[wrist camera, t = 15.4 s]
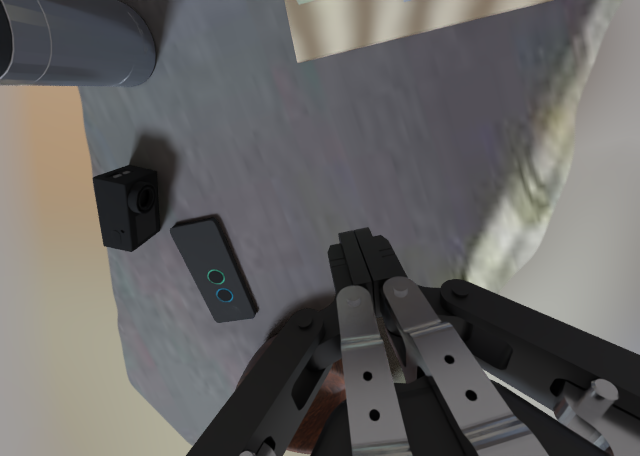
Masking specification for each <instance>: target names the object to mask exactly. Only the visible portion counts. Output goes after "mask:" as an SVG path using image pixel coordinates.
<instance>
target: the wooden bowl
mask: <svg viewBox="0 0 640 456" xmlns="http://www.w3.org/2000/svg"><path fill="white" fill-rule="evenodd" d="M277 335H278V334H277ZM277 335H275V336H274V337H272V338H271V339H269V340H268V341H267V342H266V343H265V344H263V345H262V346H261V347H260V348H259V350H258V351H257V352H256V353H255V355H254V356H253V357H252V359H251V360H250V362H249V364H248V365H247V367H246V369H245V371H244V373H243V375H242V376H241V378H240V380H239V382H238V385H237V387H236V389H237V388H238V386H239V385H240V384H241V382H242V381H243V380H244V378H245V377H246V376H247V374H248V373H249V372H250V370H251V369H252V368H253V367H254V365H255V364H256V363H257V361H258V360H259V359H260V357H261V356H262V355H263V353H264V352H265V351H266V349H267V348H268V347H269V345H270V344H271V343H272V341H273V340H274V339H275V338H276V336H277ZM345 399H346V390H345V381H344V372H343V362H342V358H341V359H340V360H338V361H336V362H334V363H333V365H332V368H331V370H330V372H329V373H328V375H327V377H326V379H325V381H324V382H323V384H322V386H321V388H320V390H319V391H318V393H317V395H316V397H315V399H314V400H313V402H312V404H311V406H310V408H309V409H308V411H307V413H306V415H305V417H304V418H303V420H302V422H301V424H300V426H299V427H298V429H297V431H296V433H295V435H294V436H293V438H292V440H291V442H290V444H289V445H288V447H287V449H286V450H289V451H293V452H297V453H304V454H311V453H312V451H313V448H314V446H315V444H316V442H317V440H318V437H319V435H320V433H321V431H322V429H323V427H324V424H325V422H326V421H327V419H328V417H329V416H330V414H331V413H332V412H333V410H334V409H335V408H336V407H337V406H338V405H339V404H340V403H341V402H343V401H344V400H345Z"/></svg>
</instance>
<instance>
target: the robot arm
mask: <svg viewBox="0 0 640 456" xmlns="http://www.w3.org/2000/svg"><path fill="white" fill-rule="evenodd" d="M155 57H156V53H155V45H154V42H153V38H152V35H151V33H150V31H149V29H148V27H147V25H146V24H145V22H144V21H143V19H142V18H141V17H140V16H139V15H138V14H137V13H136V11H134V10H133V9H132V8H131V7H129V6H128V5H126V4H124V3H122V2H120V1H118V0H0V85H42V86H137V85H140V84H142V83H143V82H145V81H146V80H147V79H148V78H149V77H150V75H151V73H152V71H153V69H154V65H155ZM338 235H339V241H340V244H335V245H330V248H329V250H328V258H329V263H330V268H331V273H332V278H333V282H334V287H335V292H336V297H335V299H334V301H333V302H332V304H331V305H329V306H328V307H327V308H325V309H323V310H321V311H319V312H318V311H316V310H314V309H302V310H299V311H297V312H296V313H295V314H293V315H292V316H291V318H290V319H289V320H288V322H287V323H286V324H285V326H284V327H283V328H282V330H281V331H280V332H279V334H278V335H277V336H276V338H275V339H274V340H273V341H272V343H271V344H270V345H269V347H268V348H267V349H266V351H265V352H264V353H263V355H262V356H261V357H260V359H259V360H258V361H257V363H256V364H255V365H254V367H253V368H252V369H251V370H250V372H249V373H248V374H247V376H246V377H245V378H244V380H243V381H242V382H241V384H240V385H239V386H238V388H237V389H236V390H235V392H234V393H233V394H232V396H231V397H230V398H229V400H228V401H227V402H226V403H225V405H224V406H223V407H222V409H221V410H220V411H219V413H218V414H217V415H216V417H215V418H214V419H213V421H212V422H211V423H210V425H209V426H208V427H207V429H206V430H205V431H204V432H203V434H202V435H201V436H200V438H199V439H198V440H197V442H196V443H195V444H194V446H193V447H192V448H191V450H190V451H189V452H188V454H187V455H186V456H283V454H284V453H285V451H286V449H287V447H288V445H289V444H290V442H291V440H292V438H293V436H294V435H295V433H296V431H297V429H298V427H299V426H300V424H301V422H302V420H303V418H304V417H305V415H306V413H307V411H308V409H309V408H310V406H311V404H312V402H313V400H314V399H315V397H316V395H317V393H318V391H319V390H320V388H321V386H322V384H323V382H324V381H325V379H326V377H327V375H328V373H329V372H330V370H331V368H332V365H333V363H334V362H336V361H338V360H340V359H341V358H342V362H343V372H344V381H345V390H346V399H345V400H344V401H343V402H341V403H340V404H339V405H338V406H337V407H336V408H335V409H334V410H333V412H332V413H331V414H330V416H329V417H328V419H327V421H326V422H325V424H324V427H323V429H322V431H321V433H320V435H319V437H318V440H317V442H316V444H315V446H314V448H313V451H312V453H311V455H310V456H640V355H638V354H636V353H634V352H631V351H629V350H627V349H624V348H622V347H620V346H617V345H615V344H612V343H610V342H608V341H606V340H603V339H601V338H599V337H596V336H594V335H592V334H589V333H587V332H584V331H582V330H580V329H578V328H575V327H573V326H571V325H568V324H566V323H564V322H561V321H559V320H556V319H554V318H552V317H549V316H547V315H545V314H542V313H540V312H538V311H535V310H533V309H531V308H528V307H526V306H524V305H521V304H519V303H517V302H514V301H512V300H510V299H507V298H505V297H503V296H500V295H498V294H496V293H493V292H491V291H489V290H486V289H484V288H482V287H479V286H477V285H475V284H472V283H470V282H467V281H465V280H460V279H452V280H448V281H446V282H444V283H443V284H442V286H441V288H430V287H422V286H419V285H417V284H416V283H415V282H414V281H413V280H411V279H409V278H408V277H407V275H406V273H405V271H404V270H403V268H402V266H401V264H400V262H399V260H398V258H397V256H396V255H395V252H394V250H393V249H392V247H391V245H390V243H389V241H388V240H387V239H386V238H384V237H383V236H382V235H379V236H374V237H373V236H372V234H371V232H370V229H369V228H368V227H367V228H362V229H357V230H354V232H353V230H352V231H347V232H343V233H338ZM374 312H375V313H374ZM375 315H376V317H375ZM379 317H383V320H384V323H385V332H386V335H387V337H388V339H389V341H390V344H391V346H392V348H393V350H394V352H395V355H396V357H397V359H398V361H399V364H400V366H401V368H402V370H403V373H404V376H405V380H406V384H405V383H393V379H392V375H391V371H390V367H389V363H388V359H387V354H386V350H385V346H384V343H383V339H382V337H380V333H379V329H378V325H377V321H376V318H379ZM483 369H484V370H485V371H487V372H489V373H490V374H492V375H494V376H496V377H497V378H499V379H500V380H502V381H504V382H506V383H507V384H509V385H511V386H512V387H514V388H515V389H517V390H519V391H520V392H522V393H524V394H525V395H527V396H529V397H531V398H532V399H534V400H536V401H537V402H539V403H541V404H542V405H544V406H546V407H547V408H549V409H551V410H552V411H554V414H555V416H556V418H557V420H558V421H559V422H558V421H557V420H555V419H554V418H552V417H551V416H549V415H548V414H546V413H544V412H543V411H541V410H540V409H538V408H537V407H535V406H533V405H532V404H530V403H529V402H527V401H526V400H524V399H523V398H521V397H520V396H518V395H516V394H515V393H513V392H512V391H510V390H509V389H507V388H506V387H504V386H502V385H501V384H499V383H497V382H495V381H493V380H490V379H489V378H488V377H487V375H486V374H485V372H484V371H483Z"/></svg>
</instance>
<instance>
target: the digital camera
mask: <svg viewBox="0 0 640 456" xmlns="http://www.w3.org/2000/svg"><path fill="white" fill-rule="evenodd" d="M93 184H94V190H95V197H96V203H97V209H98V215H99V221H100V227H101V233H102V239H103V244H104V246H106V247H111V248H115V249H120V250H125V251H129V252H132V251H134V250H135V249H137V248H138V247H139V246H141V245H142V244H143V243H145V242H146V241H147V240H148V239H150V238H151V237H152V236H154V235H155V234H156V233H158V232H159V231H160V222H159V205H158V188H157V172H156V171H153V170H149V169H144V168H140V167H135V166H131V165H127V166H125V167H122V168H119V169H116V170H113V171H110V172H107V173H104V174H101V175H98V176H96V177H93Z"/></svg>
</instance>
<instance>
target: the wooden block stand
mask: <svg viewBox="0 0 640 456" xmlns="http://www.w3.org/2000/svg"><path fill="white" fill-rule="evenodd" d="M549 1H553V0H411V1H407V2H404V0H314V1H311V2H307V3H304V4H300V5H299V4H298V2H297V0H285V5H286V10H287V15H288V19H289V24H290V29H291V34H292V39H293V44H294V49H295V53H296V58H297V63H301V62H305V61H309V60H314V59H318V58H322V57H326V56H330V55H334V54H338V53H342V52H346V51H350V50H354V49H358V48H362V47H366V46H370V45H374V44H378V43H382V42H387V41H391V40H395V39H399V38H403V37H407V36H411V35H415V34H419V33H423V32H427V31H431V30H435V29H439V28H443V27H447V26H451V25H455V24H460V23H464V22H468V21H472V20H476V19H480V18H484V17H488V16H492V15H496V14H500V13H504V12H508V11H512V10H516V9H520V8H524V7H528V6H533V5H537V4H541V3H545V2H549Z"/></svg>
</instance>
